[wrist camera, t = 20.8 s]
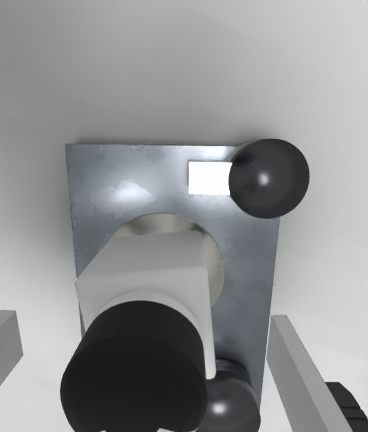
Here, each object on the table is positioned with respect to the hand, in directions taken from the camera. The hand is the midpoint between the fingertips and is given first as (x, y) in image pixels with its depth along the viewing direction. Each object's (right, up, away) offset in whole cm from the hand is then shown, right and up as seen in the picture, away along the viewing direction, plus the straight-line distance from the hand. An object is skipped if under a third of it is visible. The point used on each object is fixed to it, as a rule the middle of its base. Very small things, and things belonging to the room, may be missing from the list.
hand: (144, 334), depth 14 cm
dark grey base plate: (+1, -1, +11) cm, 11 cm away
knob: (+6, +9, +6) cm, 13 cm away
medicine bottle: (0, +2, +8) cm, 8 cm away
